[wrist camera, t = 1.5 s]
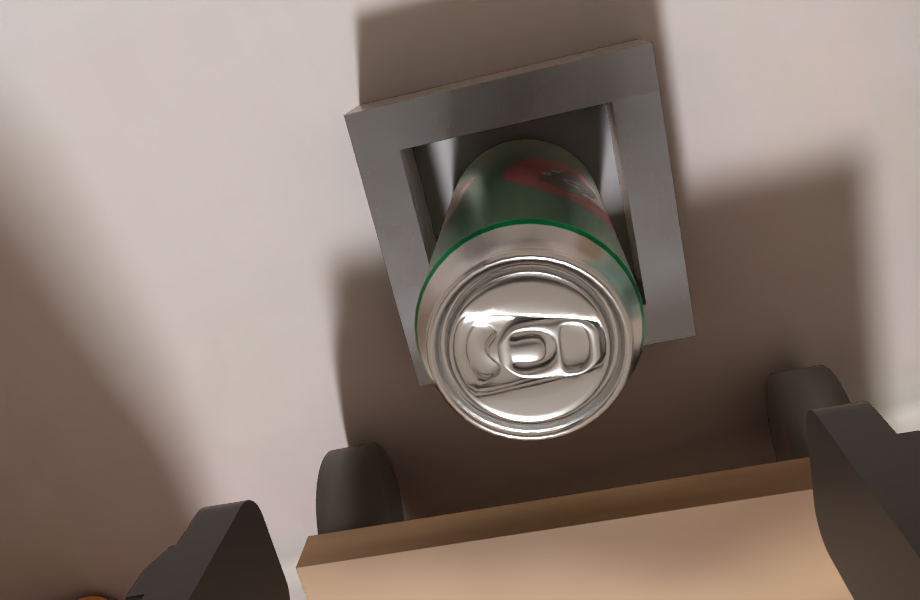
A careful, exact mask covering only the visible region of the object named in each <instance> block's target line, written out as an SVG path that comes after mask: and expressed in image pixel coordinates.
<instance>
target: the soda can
mask: <svg viewBox="0 0 920 600" xmlns="http://www.w3.org/2000/svg"><path fill="white" fill-rule="evenodd" d="M414 329H415V340H416V345H417V349H418V353H419V357H420V360H421V362H422V364H423V366H424V369H425V371H426V373H427V375H428V376H429V378H430V379H431V381H432V382H433V384H434V385H435V387H436V388H437V389H438V390H439V392H440V393H441V395H442V396H443V398H444V399H445V401H446V402H447V403H448V404H449V405H450V406H451V407H452V408H453V410H454V411H455V412H456V413H458V414H459V415H460V416H461V417H463V418H464V419H465V420H466V421H468V422H469V423H471V424H473V425H474V426H476V427H478V428H479V429H482V430H484V431H486V432H489V433H491V434H494V435H497V436H501V437H505V438H508V439H516V440H544V439H551V438H556V437H559V436H563V435H566V434H569V433H572V432H574V431H576V430H578V429H580V428H582V427H584V426H586V425H587V424H589V423H590V422H592V421H594V420H595V419H597V418H598V417H599V416H600V415H601V414H602V413H603V412H604V411H606V410H607V409H608V408H609V406H610V405H611V404H612V403H613V402H614V400H615V399H616V398H617V397H618V395H619V393H620V392H621V390H622V388H623V387H624V386H625V384H626V383H627V382H628V380H629V378H630V376H631V375H632V373H633V371H634V369H635V368H636V365H637V363H638V360H639V357H640V355H641V352H642V347H643V341H644V336H645V315H644V309H643V302H642V299H641V296H640V293H639V290H638V287H637V284H636V282H635V279H634V277H633V274H632V272H631V269H630V267H629V265H628V262H627V260H626V257H625V255H624V252H623V250H622V248H621V245H620V243H619V240H618V238H617V235H616V233H615V231H614V228H613V226H612V223H611V221H610V218H609V216H608V214H607V211H606V209H605V206H604V204H603V201H602V199H601V196H600V194H599V192H598V189H597V187H596V184H595V182H594V180H593V178H592V177H591V175H590V173H589V171H588V170H587V169H586V168H585V166H584V165H583V164H582V163H581V162H580V161H579V160H578V159H577V158H576V157H575V156H574V155H572V154H571V153H569V152H568V151H566V150H565V149H563V148H561V147H559V146H557V145H554V144H552V143H548V142H544V141H541V140H531V139H524V140H514V141H509V142H504V143H502V144H499V145H497V146H494V147H492V148H490V149H489V150H487V151H485V152H483V153H482V154H481V155H480V156H478V157H477V158H476V159H475V160H474V161H473V162H472V163H471V164H470V165H469V166H468V167H467V168H466V170H465V171H464V173H463V174H462V176H461V177H460V179H459V181H458V184H457V186H456V188H455V191H454V194H453V197H452V200H451V202H450V205H449V208H448V211H447V214H446V217H445V220H444V223H443V226H442V229H441V232H440V235H439V238H438V240H437V243H436V246H435V249H434V252H433V255H432V258H431V261H430V264H429V267H428V270H427V273H426V276H425V278H424V281H423V284H422V287H421V290H420V293H419V297H418V301H417V305H416V309H415V322H414Z"/></svg>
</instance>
